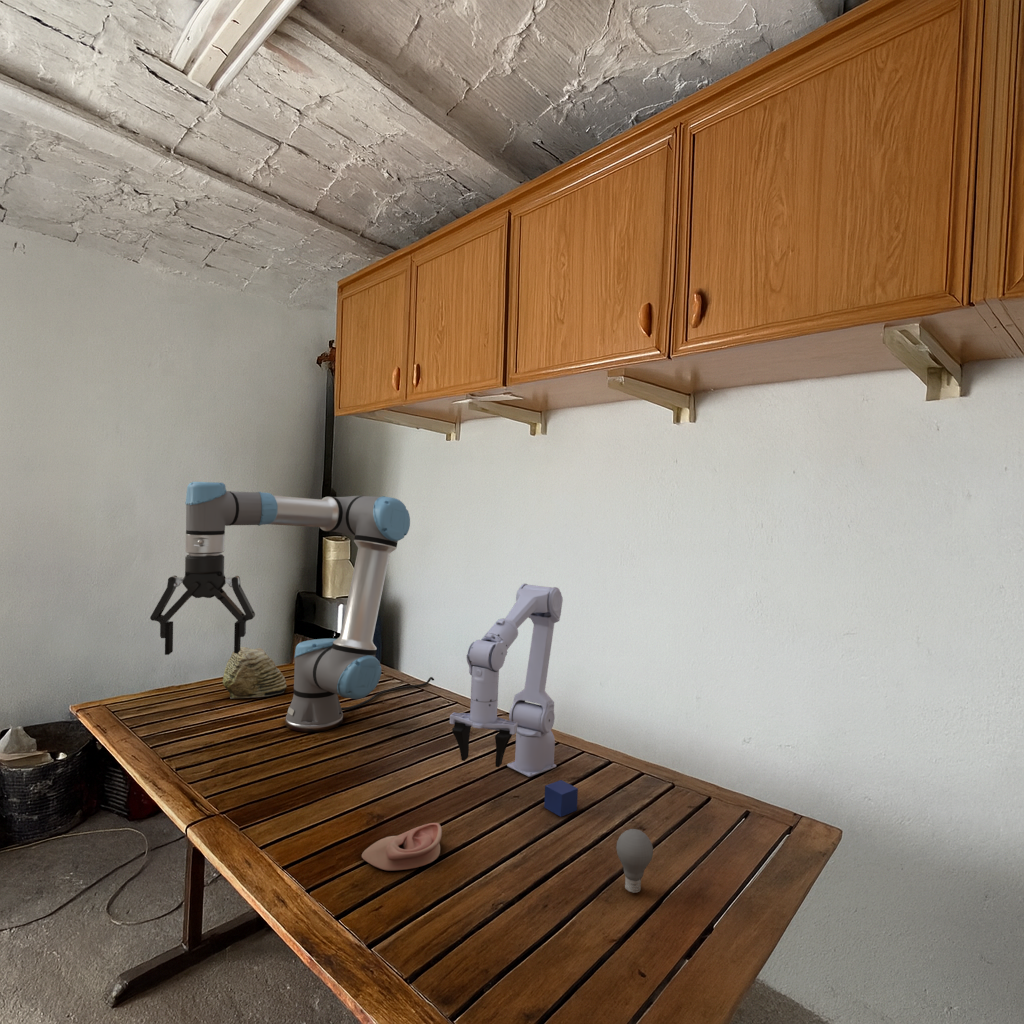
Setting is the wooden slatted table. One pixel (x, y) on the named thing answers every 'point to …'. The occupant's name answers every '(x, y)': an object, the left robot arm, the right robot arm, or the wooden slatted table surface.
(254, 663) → the fossil
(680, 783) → the wooden slatted table surface
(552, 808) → the blue cube
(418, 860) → the anatomical model
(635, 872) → the light bulb
